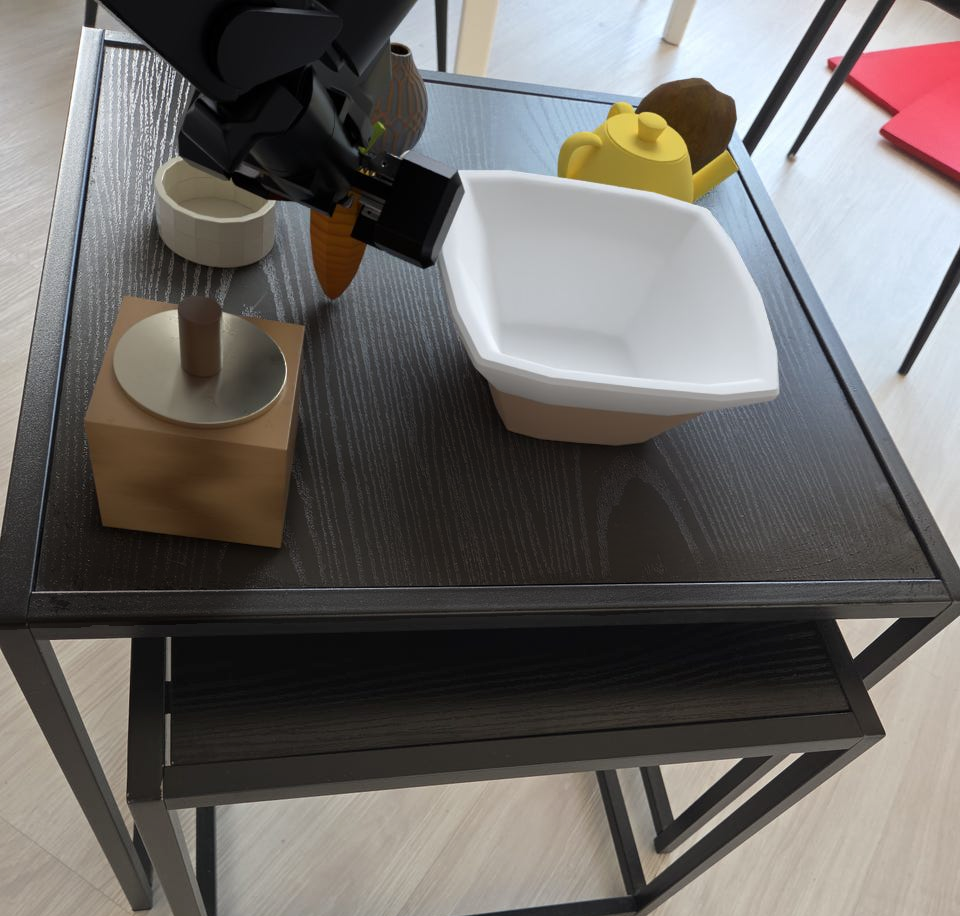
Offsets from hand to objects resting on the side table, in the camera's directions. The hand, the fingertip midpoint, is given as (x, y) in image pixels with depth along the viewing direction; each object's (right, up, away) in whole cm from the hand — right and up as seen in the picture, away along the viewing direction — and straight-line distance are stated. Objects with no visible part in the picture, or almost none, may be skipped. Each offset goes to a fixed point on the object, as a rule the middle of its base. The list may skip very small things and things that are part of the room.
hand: (349, 209), depth 70 cm
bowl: (+17, -12, +6) cm, 21 cm away
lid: (-7, -16, -15) cm, 23 cm away
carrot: (-2, -5, +5) cm, 7 cm away
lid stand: (-9, -21, -7) cm, 24 cm away
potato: (+30, +17, +29) cm, 45 cm away
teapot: (+23, +5, +19) cm, 31 cm away
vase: (+1, +15, +19) cm, 24 cm away
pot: (-12, +1, +7) cm, 14 cm away
